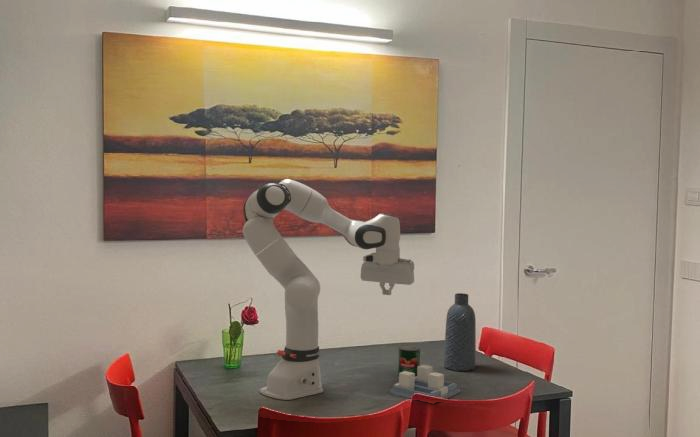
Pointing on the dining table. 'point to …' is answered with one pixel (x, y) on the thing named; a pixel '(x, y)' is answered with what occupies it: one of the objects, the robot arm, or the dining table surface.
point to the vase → (460, 336)
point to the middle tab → (435, 380)
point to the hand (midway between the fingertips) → (386, 294)
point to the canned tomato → (408, 358)
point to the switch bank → (427, 389)
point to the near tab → (407, 380)
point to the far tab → (424, 372)
